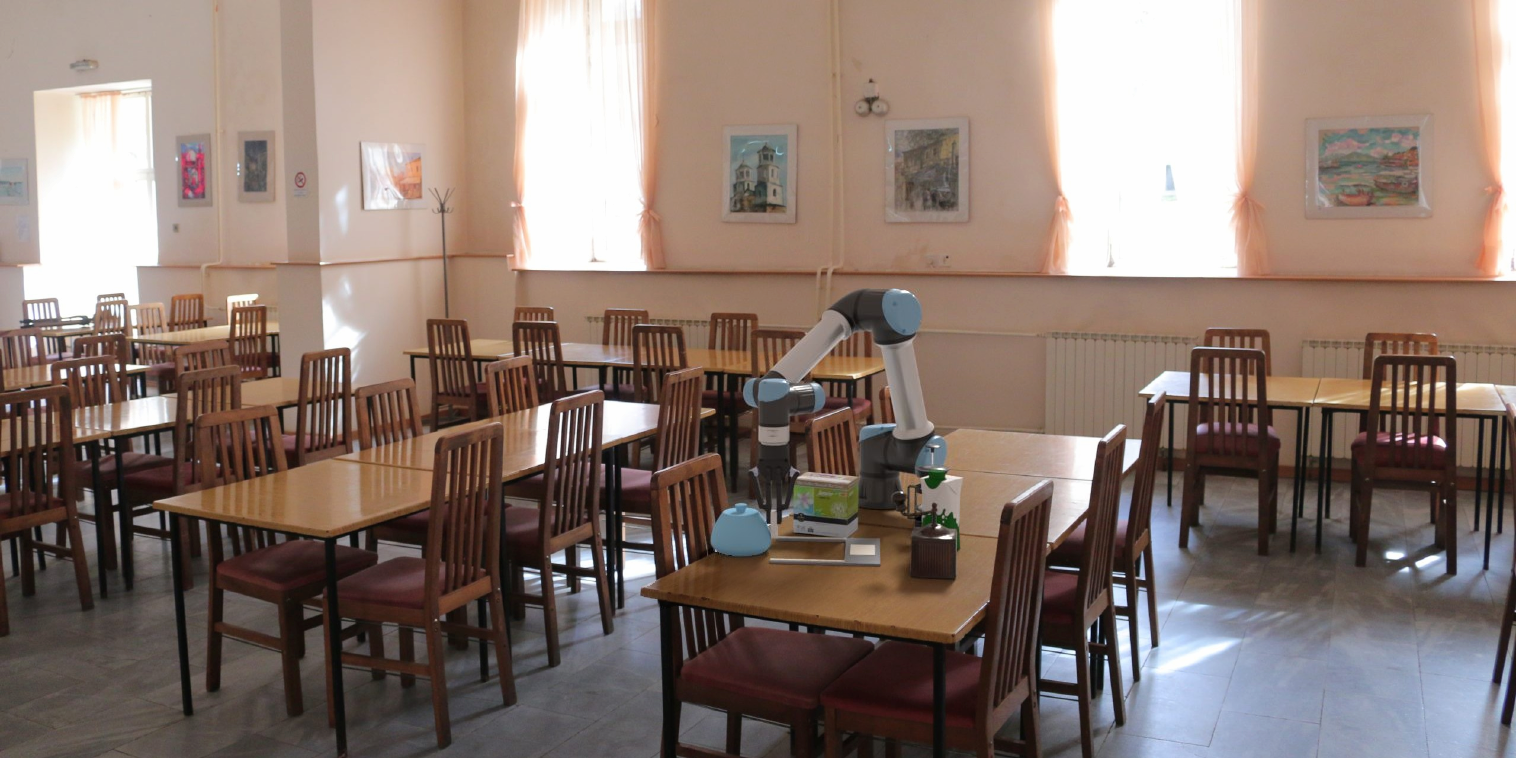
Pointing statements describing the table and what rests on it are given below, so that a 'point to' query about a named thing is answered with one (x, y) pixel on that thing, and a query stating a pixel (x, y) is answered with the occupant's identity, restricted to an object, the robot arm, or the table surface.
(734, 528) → the sugar bowl
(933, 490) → the milk carton
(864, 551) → the label board
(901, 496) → the brown manual coffee grinder
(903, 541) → the table surface
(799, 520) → the tea box
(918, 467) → the french press
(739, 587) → the table surface
